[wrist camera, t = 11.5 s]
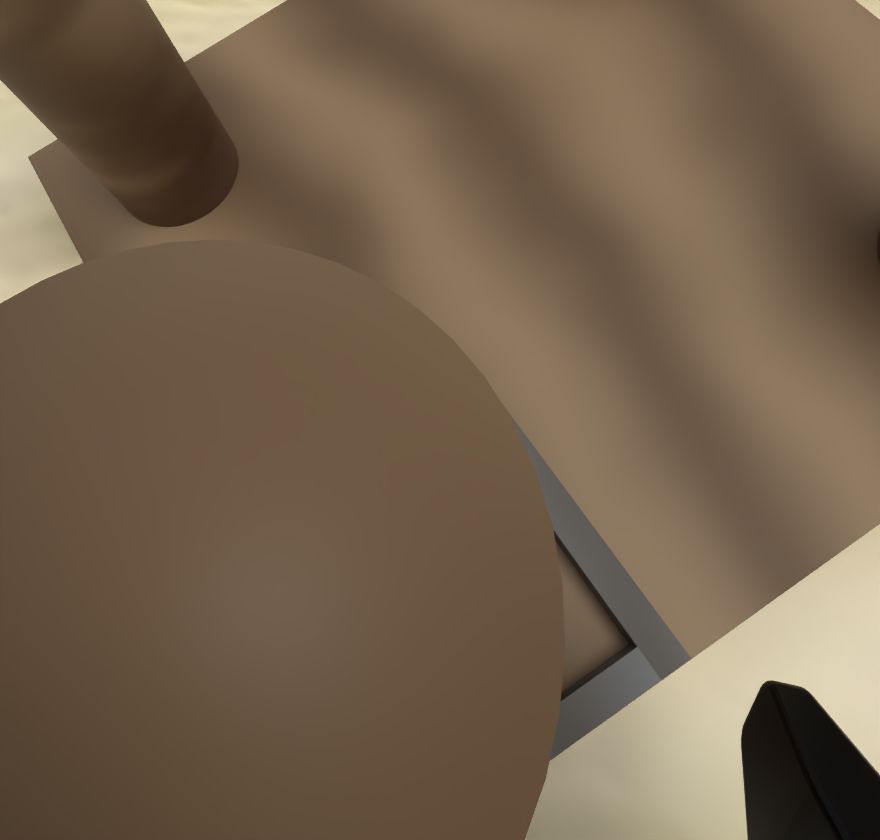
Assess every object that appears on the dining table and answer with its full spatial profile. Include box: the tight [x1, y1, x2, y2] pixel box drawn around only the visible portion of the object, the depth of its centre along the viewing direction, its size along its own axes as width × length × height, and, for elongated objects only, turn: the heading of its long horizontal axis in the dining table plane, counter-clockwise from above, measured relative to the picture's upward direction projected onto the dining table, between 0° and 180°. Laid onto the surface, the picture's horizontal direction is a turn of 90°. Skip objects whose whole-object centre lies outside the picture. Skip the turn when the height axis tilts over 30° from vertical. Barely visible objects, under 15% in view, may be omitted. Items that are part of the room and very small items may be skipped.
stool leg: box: [0, 240, 565, 840], centre depth 9 cm, size 4×4×13 cm
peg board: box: [0, 0, 880, 761], centre depth 13 cm, size 24×24×15 cm
